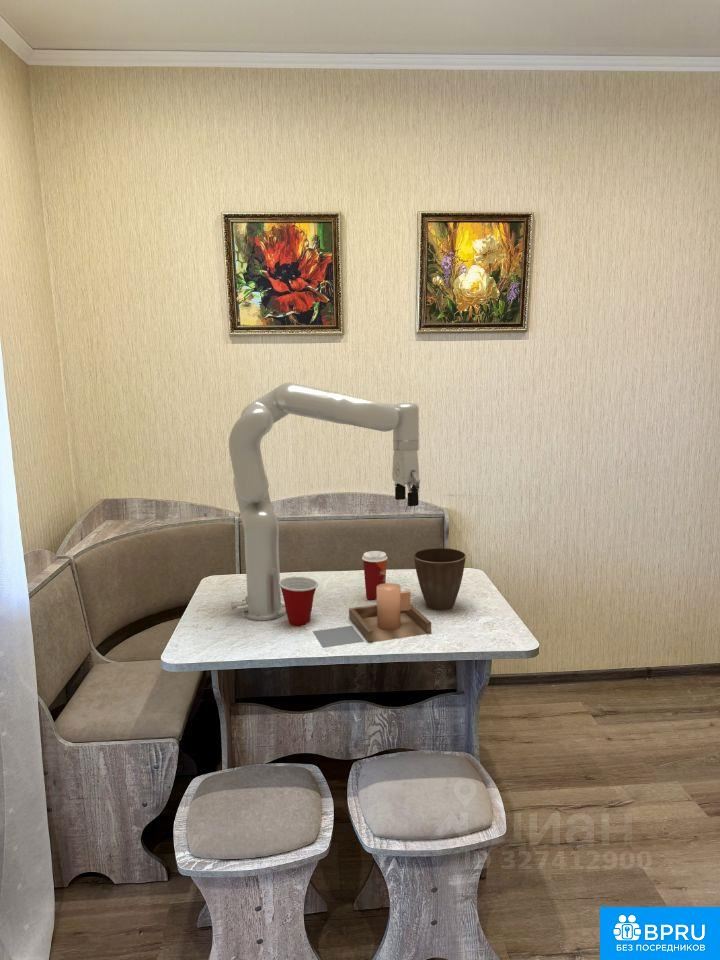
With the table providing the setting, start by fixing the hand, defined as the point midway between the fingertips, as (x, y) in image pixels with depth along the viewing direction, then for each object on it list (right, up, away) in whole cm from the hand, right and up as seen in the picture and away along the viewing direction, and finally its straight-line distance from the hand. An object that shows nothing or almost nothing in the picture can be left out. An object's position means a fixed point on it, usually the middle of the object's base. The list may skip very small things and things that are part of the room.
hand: (406, 502), depth 203 cm
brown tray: (-6, -33, -18) cm, 38 cm away
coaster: (-20, -35, -24) cm, 47 cm away
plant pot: (+9, -31, -3) cm, 32 cm away
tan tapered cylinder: (-5, -33, -17) cm, 37 cm away
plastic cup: (-31, -33, -13) cm, 47 cm away
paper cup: (-9, -30, +5) cm, 31 cm away
